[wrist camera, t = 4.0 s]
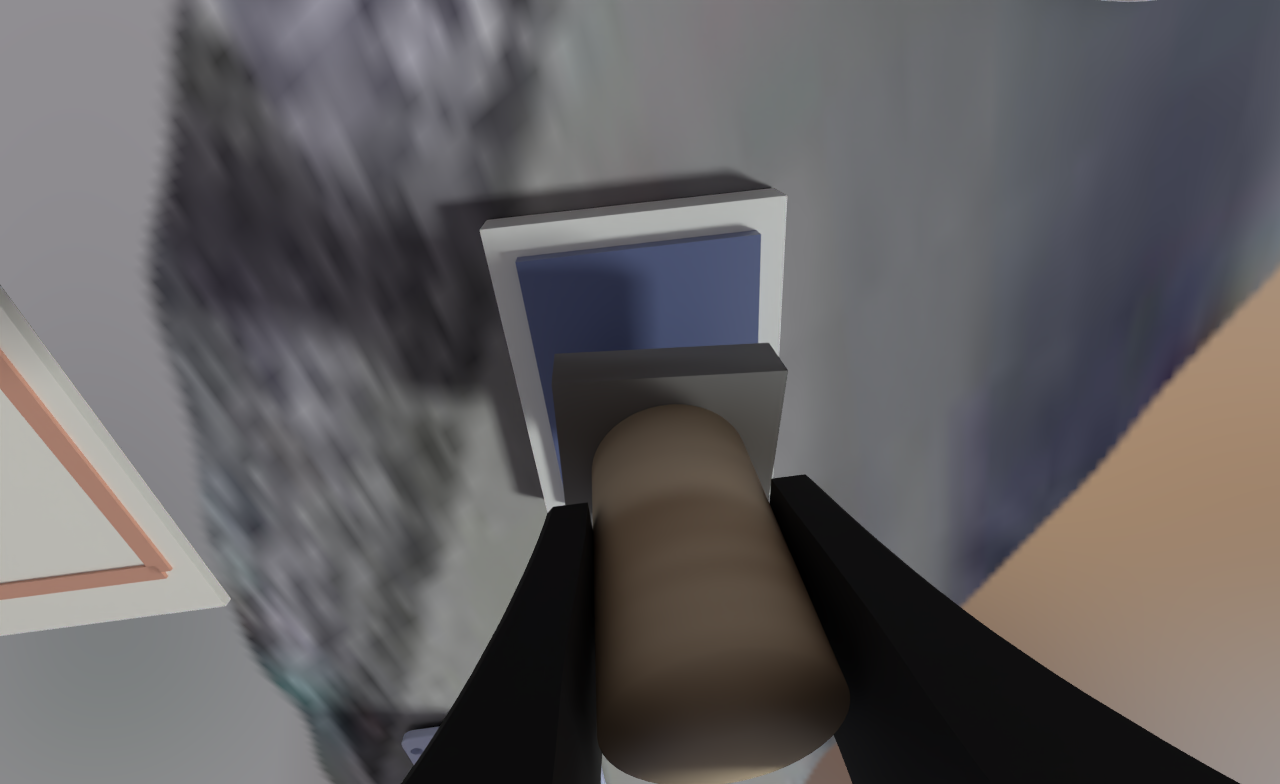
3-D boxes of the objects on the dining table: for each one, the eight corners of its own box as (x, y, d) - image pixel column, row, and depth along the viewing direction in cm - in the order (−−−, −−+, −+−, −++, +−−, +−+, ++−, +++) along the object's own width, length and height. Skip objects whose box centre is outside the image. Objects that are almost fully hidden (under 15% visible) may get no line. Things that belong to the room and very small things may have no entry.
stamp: (748, 501, 13) (858, 787, 8) (571, 514, 13) (563, 821, 8) (769, 342, 11) (940, 594, 6) (554, 353, 11) (526, 631, 5)
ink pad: (762, 474, 18) (776, 503, 16) (551, 501, 17) (549, 532, 16) (773, 188, 13) (793, 199, 12) (486, 219, 13) (476, 233, 12)
